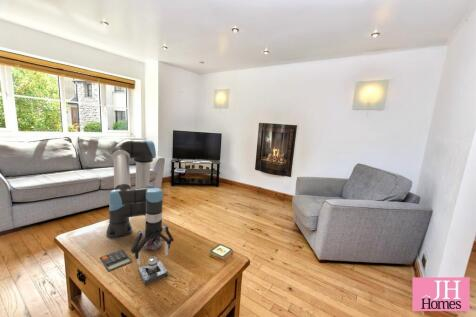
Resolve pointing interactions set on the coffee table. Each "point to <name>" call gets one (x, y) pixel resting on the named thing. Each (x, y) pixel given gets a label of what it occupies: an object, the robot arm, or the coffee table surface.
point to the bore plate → (152, 277)
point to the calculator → (115, 260)
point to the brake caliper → (153, 243)
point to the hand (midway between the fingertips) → (153, 259)
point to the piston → (152, 265)
